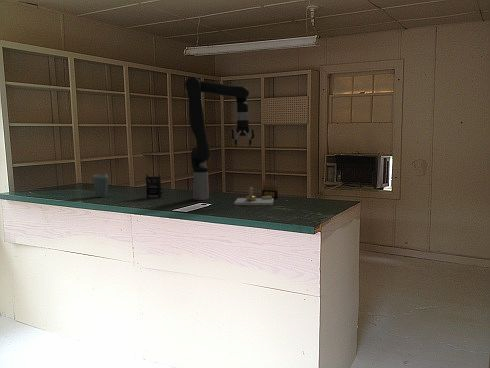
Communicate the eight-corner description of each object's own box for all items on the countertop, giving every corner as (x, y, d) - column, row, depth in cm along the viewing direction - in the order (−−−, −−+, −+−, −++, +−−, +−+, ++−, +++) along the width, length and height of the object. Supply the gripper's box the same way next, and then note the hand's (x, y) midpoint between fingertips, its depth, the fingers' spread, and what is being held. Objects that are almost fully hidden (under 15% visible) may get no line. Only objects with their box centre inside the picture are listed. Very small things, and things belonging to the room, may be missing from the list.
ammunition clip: (261, 197, 278) (261, 178, 277) (262, 197, 280) (262, 178, 278) (277, 198, 273) (277, 179, 272) (278, 198, 275) (278, 179, 273)
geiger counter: (163, 197, 286) (162, 174, 284) (161, 198, 281) (160, 175, 279) (148, 196, 287) (147, 174, 285) (145, 198, 282) (144, 175, 280)
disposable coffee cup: (106, 198, 284) (105, 175, 282) (90, 198, 284) (88, 175, 282) (111, 195, 295) (110, 173, 293) (96, 195, 295) (94, 173, 293)
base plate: (234, 205, 253) (234, 199, 253) (237, 200, 268) (237, 195, 268) (272, 205, 251) (272, 199, 250) (273, 200, 265) (273, 195, 265)
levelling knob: (246, 198, 264) (246, 187, 263) (256, 198, 264) (256, 187, 263) (245, 201, 255) (245, 189, 255) (255, 201, 255) (255, 189, 254)
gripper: (254, 119, 277) (254, 145, 279) (232, 119, 279) (232, 145, 281) (253, 119, 269) (253, 145, 272) (230, 119, 271) (231, 145, 273)
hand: (243, 145), depth 276 cm, fingers open, 8 cm apart
